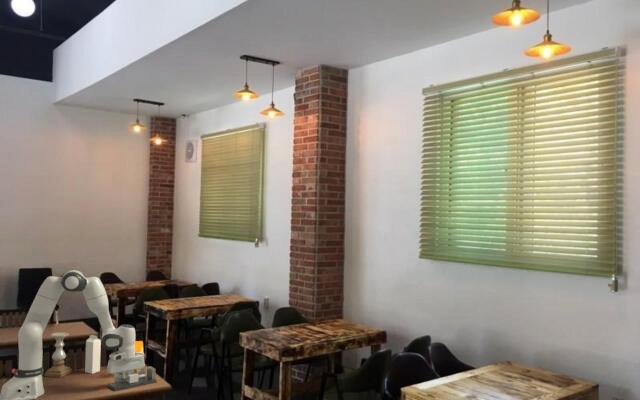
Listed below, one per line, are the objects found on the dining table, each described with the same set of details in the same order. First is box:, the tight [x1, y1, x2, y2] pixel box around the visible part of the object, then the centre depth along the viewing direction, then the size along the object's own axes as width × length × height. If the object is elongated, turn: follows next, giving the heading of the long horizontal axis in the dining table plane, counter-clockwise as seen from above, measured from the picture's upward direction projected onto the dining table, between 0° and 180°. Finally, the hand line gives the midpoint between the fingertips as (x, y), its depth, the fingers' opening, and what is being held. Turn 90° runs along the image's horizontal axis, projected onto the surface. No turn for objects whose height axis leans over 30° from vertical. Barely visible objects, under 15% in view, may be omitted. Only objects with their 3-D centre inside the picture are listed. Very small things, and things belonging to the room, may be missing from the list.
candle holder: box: [44, 331, 73, 378], centre depth 321 cm, size 11×11×24 cm
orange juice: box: [135, 340, 144, 353], centre depth 324 cm, size 8×9×20 cm
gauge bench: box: [107, 364, 158, 392], centre depth 306 cm, size 24×11×8 cm, turn 132°
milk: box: [84, 334, 102, 374], centre depth 328 cm, size 6×6×22 cm
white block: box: [126, 373, 147, 383], centre depth 308 cm, size 10×7×4 cm, turn 132°
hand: (125, 378), depth 303 cm, fingers closed
